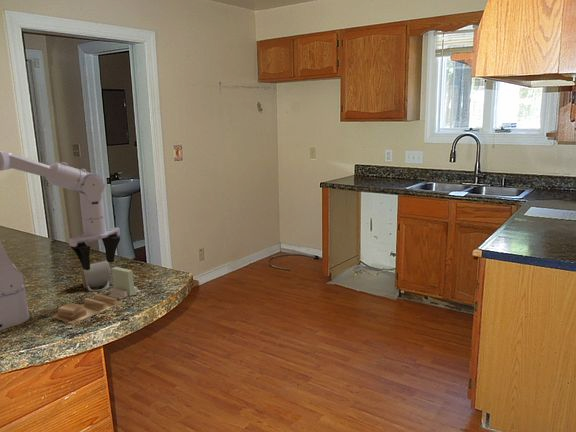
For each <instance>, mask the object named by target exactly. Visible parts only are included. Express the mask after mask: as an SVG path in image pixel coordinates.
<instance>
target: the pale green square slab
mask: <svg viewBox="0 0 576 432" xmlns="http://www.w3.org/2000/svg"><path fill="white" fill-rule="evenodd" d="M110 271H111V278H112V286H113V287H112V288H116V289H120V290H125V291H127V295H129V296H128V297H131V296H133V295H135V294H136V293H135V289H134V286H135V283H134V282H135V281H134V273H133V270H132V269H128V268H123V267H117V266H115V267H112V268H110Z"/></svg>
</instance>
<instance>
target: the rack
mask: <svg viewBox="0 0 576 432" xmlns="http://www.w3.org/2000/svg"><path fill="white" fill-rule="evenodd" d="M94 298H95V299H94ZM94 298H90V297H85V298H83V303H81V304H80V305H84V310H86V314H87V315H85V316H83V317H80V318H78V319H76V320H73V321H71V320H68V319H65V318H62V317H59V316H58V313H56V314H54V315H51V316H50V317H51V318H53V319H56V320H60V321H63V322H65V323H69V324H71V325H73V324H76V323H77V322H80V321H83V320H85V319H88V318H89V317H92V316H94V315H97V314H99V313H101V312H103V311H106V310H108V309H110V308H113V307H116V306H118V305H120V304H122V303H123V302H122V301H118V298H115V297H112V296H108V295H105V294H102V293H96V294H94Z"/></svg>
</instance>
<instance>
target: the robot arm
mask: <svg viewBox="0 0 576 432" xmlns="http://www.w3.org/2000/svg"><path fill="white" fill-rule="evenodd" d="M10 169H14V170H18V171H21V172H25V173H29V174H33V175H36V176H40V177H44V178H45V179H46V181H47V182H48V184H50V185H53V186H57V187H60V188H63V189H67V190H71V191H74V192H75V191H78V192H79V193H78V194H79V204H80V211H81V212H80V213H81V222H82V230H83V233H82V234H79V235H76V236H74V237H71V238H68V242H69V244H68V245H69V246H70V248H71V250H72V251H73V252H74V253H75V255H76V257H77V258H78V260H79V261H80V264H81V266H82V267H83V269H84V270H90V264H91V262H90V261H91V260H90V251H91V245H87V243H91V242H94V241H99V240H101V241H102V243H103V246H104V249H105V259H106V261H107V262H108V263H114V262H115V256H116V251H117V247H118V245H119V243H120V241H121V237H120V235H121V230H120V227H110V228H107V225H106V214H105V207H104V199H103V198H104V197H103V191H104V189H105V188H106V184H105V182H104V181H103V178H102V177H100V175H98V174H96V173H92V172H89V171H87V169H85V168H80V169H79V168H77V167H76V168H75V167H72V166H69V165H68V163H67V162H64V161H60V162H57V161H56V162H54V163H52V164H49V165H48V164H46V163H42V162H40V161H36V160H33V159H30V158H26V157H24V156H20V155H18V154H15V153H12V152H8V151H1V150H0V172H2V171H6V170H10ZM82 267H81V268H82ZM24 279H25V278H24V275H23V273H22V272H21V270H19V269H18V268H17V266H16V265H15V263H13V262H12V261H11V259H10V257H9V255H8V253H7V251H6V249H5V247H4V245H3V243H2V241H1V240H0V331H2V330H4V329H7V328H10V327H13V326H17V325H22V324H23V323H26V322H27V321H28V320H29V319H30V313H29V309H28V302H27V295H26V294H27V293H26V289H25V284H24V283H25V282H24V281H25V280H24Z"/></svg>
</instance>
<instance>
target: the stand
mask: <svg viewBox="0 0 576 432" xmlns="http://www.w3.org/2000/svg"><path fill="white" fill-rule="evenodd" d="M134 289H135V294H136V293H139V292H142V290H141V289H140V290H139V289H138V286H135V285H134ZM109 290H110V293H109V294H107V296H109V297H113V298H117V299H120V300H123V299H125V298H127V297H130V296H129V295H127V291H125V290H120V289H116V288H114V287H112V288H109Z"/></svg>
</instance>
